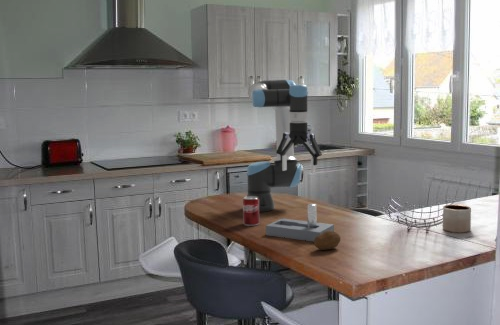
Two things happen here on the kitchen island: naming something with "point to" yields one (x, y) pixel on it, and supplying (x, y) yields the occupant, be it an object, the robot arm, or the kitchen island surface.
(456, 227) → the planter
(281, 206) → the kitchen island surface
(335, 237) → the potato
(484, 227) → the kitchen island surface
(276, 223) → the keyhole board
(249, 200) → the soda can
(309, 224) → the peg
